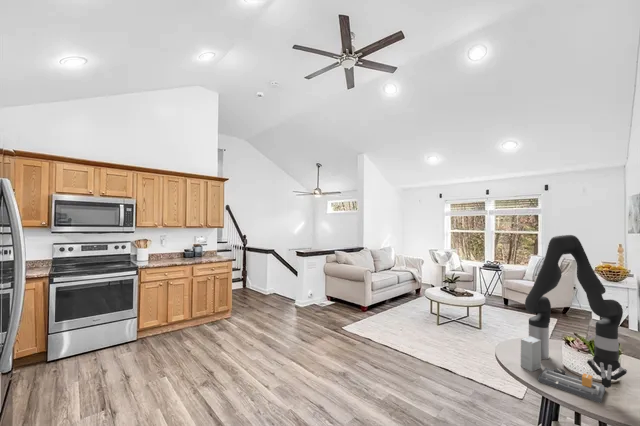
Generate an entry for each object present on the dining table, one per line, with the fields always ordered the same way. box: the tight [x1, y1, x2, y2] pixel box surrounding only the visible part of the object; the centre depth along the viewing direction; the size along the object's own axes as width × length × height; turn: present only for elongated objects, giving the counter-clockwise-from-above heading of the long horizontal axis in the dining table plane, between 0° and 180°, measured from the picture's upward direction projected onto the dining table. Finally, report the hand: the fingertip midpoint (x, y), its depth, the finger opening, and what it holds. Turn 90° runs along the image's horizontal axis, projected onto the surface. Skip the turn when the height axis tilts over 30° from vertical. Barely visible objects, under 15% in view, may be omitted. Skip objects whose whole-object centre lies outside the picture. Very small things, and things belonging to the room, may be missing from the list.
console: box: [537, 367, 606, 404], centre depth 141 cm, size 14×22×4 cm, turn 42°
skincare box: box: [520, 335, 542, 373], centre depth 157 cm, size 8×6×15 cm
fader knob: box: [581, 372, 594, 388], centre depth 135 cm, size 4×3×6 cm
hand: (606, 386), depth 130 cm, fingers closed
